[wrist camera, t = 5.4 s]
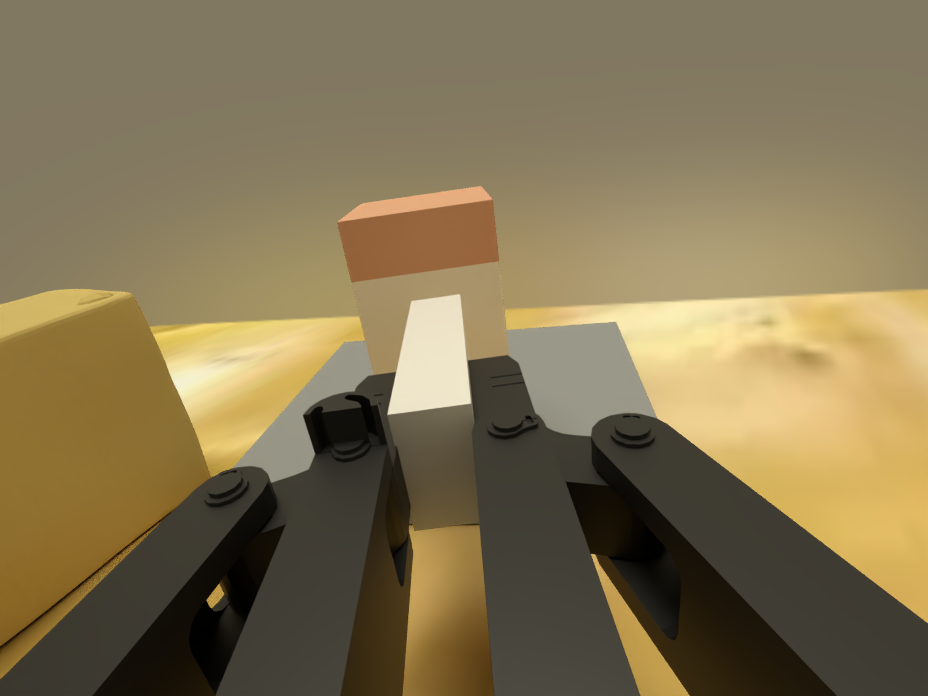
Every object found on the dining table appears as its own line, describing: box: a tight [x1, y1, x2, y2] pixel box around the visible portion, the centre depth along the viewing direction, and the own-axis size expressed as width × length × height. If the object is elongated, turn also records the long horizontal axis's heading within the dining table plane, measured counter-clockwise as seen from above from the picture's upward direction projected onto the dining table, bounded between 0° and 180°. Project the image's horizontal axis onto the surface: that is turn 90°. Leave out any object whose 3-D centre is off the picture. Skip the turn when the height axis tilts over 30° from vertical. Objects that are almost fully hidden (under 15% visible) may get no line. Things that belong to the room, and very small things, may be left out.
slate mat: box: [233, 322, 657, 524], centre depth 27 cm, size 20×18×1 cm
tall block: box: [337, 186, 509, 375], centre depth 20 cm, size 5×5×11 cm
